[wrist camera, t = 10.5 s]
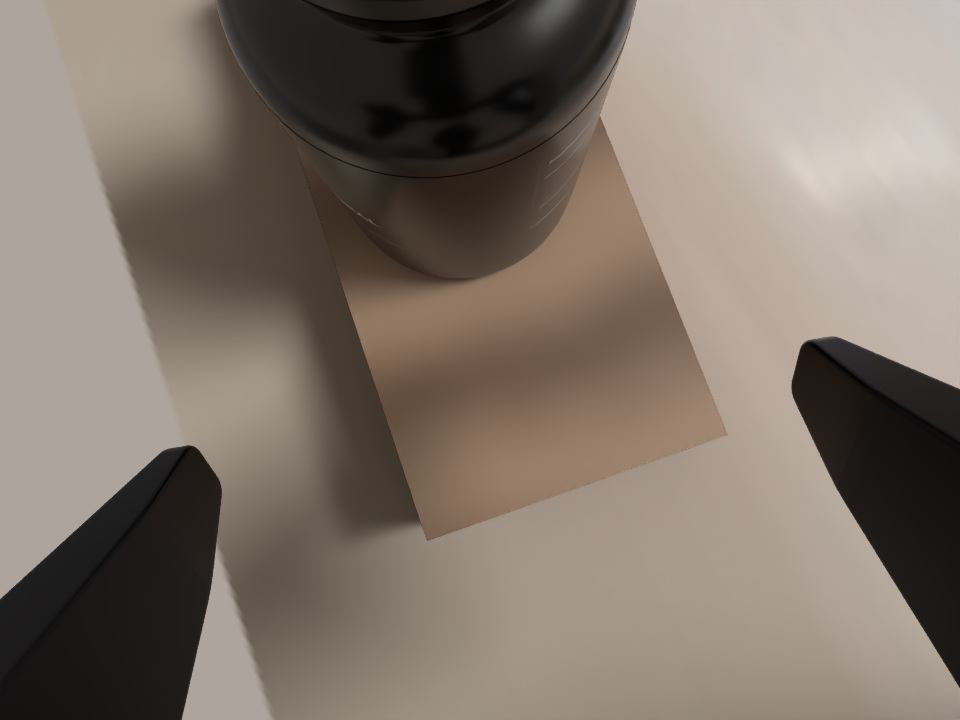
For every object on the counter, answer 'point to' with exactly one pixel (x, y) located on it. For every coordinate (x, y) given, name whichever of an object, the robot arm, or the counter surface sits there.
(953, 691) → the counter surface
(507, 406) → the walnut ledge
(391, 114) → the supplement bottle
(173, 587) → the robot arm
